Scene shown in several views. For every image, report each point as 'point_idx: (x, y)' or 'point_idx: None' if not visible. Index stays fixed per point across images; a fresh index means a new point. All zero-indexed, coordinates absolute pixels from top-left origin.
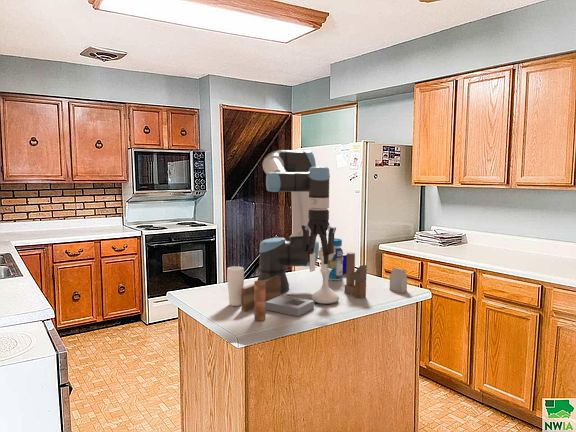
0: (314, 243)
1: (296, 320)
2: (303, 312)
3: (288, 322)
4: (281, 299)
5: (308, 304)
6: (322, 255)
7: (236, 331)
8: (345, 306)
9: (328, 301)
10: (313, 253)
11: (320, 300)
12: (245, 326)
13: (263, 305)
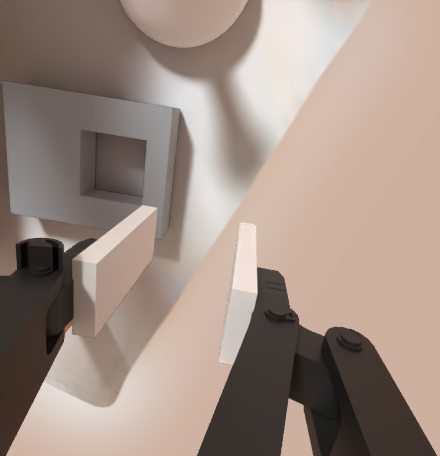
0: (3, 378)
1: (179, 261)
2: (170, 193)
3: (165, 286)
4: (42, 154)
5: (168, 159)
6: (228, 352)
7: (81, 388)
8: (300, 2)
9: (221, 33)
10: (83, 281)
11: (182, 43)
12: (78, 353)
13: (66, 330)
